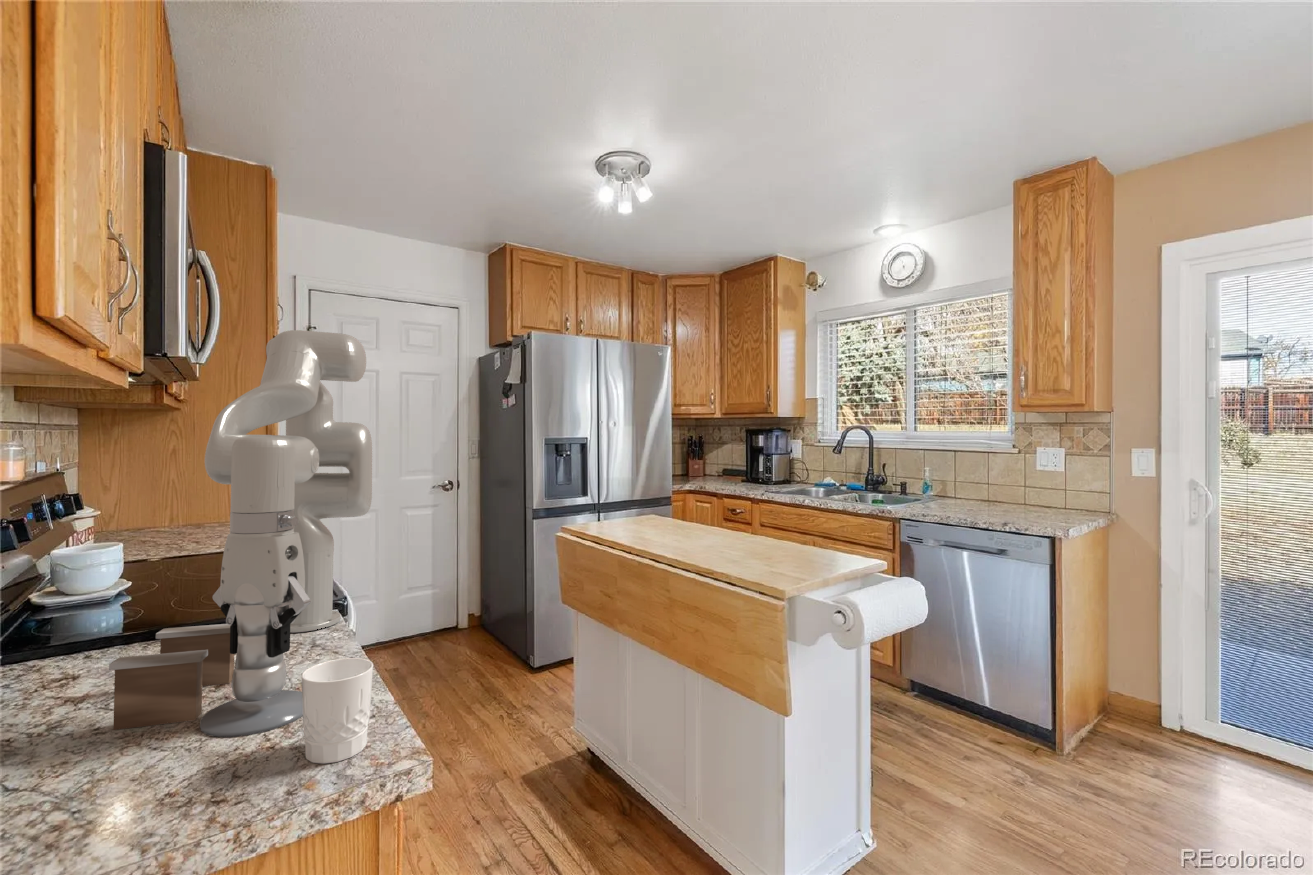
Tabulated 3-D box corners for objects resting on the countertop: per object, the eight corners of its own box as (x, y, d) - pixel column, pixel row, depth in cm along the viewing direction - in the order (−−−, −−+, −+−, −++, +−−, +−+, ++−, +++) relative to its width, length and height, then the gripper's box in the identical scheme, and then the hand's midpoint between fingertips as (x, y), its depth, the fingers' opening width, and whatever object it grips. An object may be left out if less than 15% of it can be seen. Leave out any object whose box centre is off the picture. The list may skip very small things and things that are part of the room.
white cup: (287, 753, 72) (289, 672, 72) (350, 728, 78) (352, 653, 78) (320, 774, 67) (321, 687, 68) (384, 745, 74) (386, 666, 74)
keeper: (162, 685, 91) (163, 628, 91) (238, 677, 95) (239, 622, 95) (107, 731, 77) (109, 664, 77) (199, 720, 80) (200, 656, 80)
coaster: (220, 700, 86) (220, 696, 86) (320, 689, 90) (320, 685, 90) (182, 743, 74) (182, 739, 74) (300, 728, 78) (300, 723, 78)
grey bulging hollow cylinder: (238, 713, 77) (241, 561, 78) (224, 697, 82) (228, 554, 82) (293, 697, 82) (296, 555, 82) (277, 683, 87) (280, 549, 87)
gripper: (335, 522, 85) (333, 648, 84) (234, 518, 88) (232, 639, 87) (294, 529, 77) (291, 667, 77) (186, 524, 80) (183, 657, 80)
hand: (260, 651), depth 82 cm, fingers closed on grey bulging hollow cylinder, 5 cm apart
